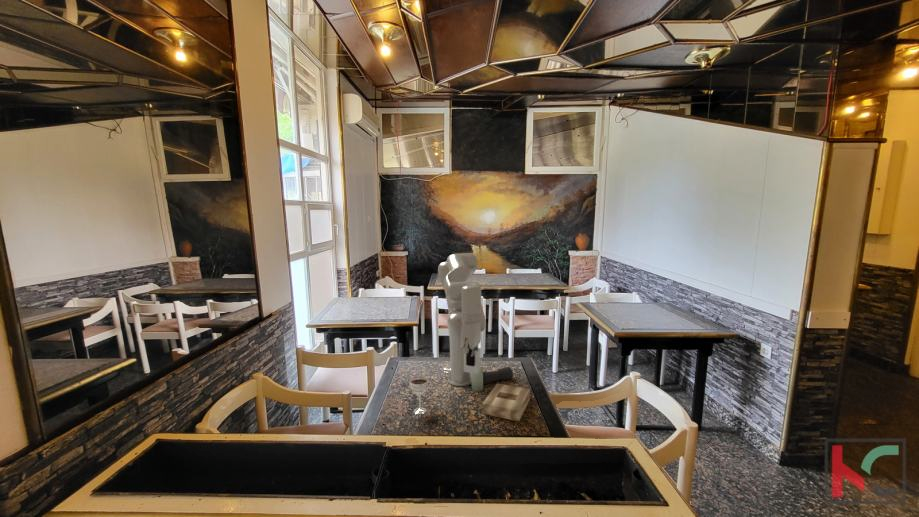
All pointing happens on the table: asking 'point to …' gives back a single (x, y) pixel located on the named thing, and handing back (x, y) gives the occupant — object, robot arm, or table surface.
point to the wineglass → (419, 391)
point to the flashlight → (498, 375)
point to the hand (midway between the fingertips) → (472, 363)
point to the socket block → (506, 402)
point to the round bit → (477, 381)
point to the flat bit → (477, 362)
